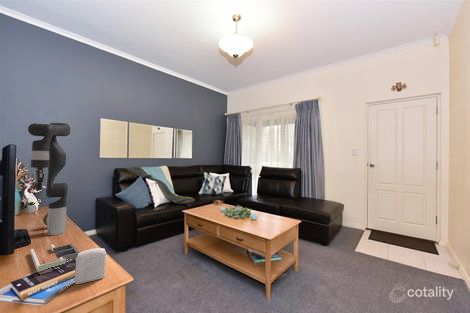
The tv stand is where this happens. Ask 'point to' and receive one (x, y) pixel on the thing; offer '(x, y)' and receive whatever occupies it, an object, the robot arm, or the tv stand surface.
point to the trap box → (61, 252)
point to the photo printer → (90, 265)
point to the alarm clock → (45, 220)
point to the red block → (50, 259)
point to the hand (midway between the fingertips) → (38, 190)
